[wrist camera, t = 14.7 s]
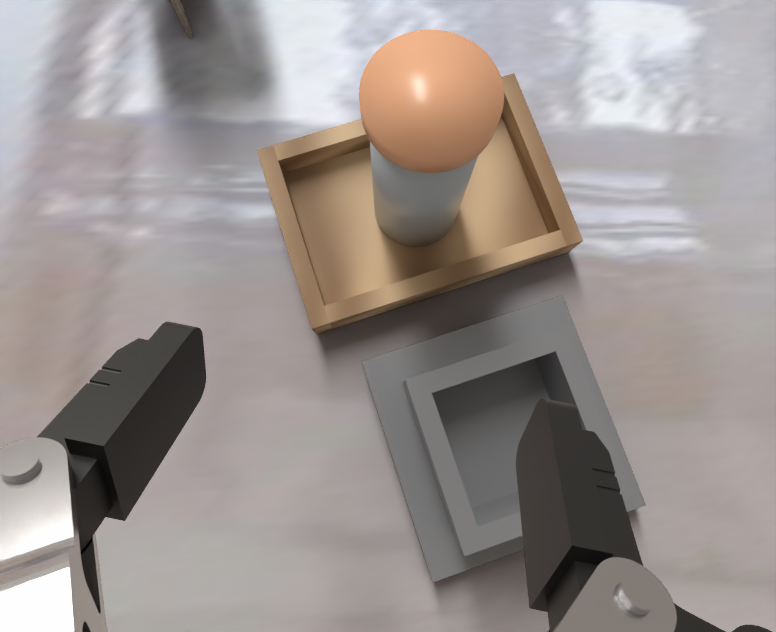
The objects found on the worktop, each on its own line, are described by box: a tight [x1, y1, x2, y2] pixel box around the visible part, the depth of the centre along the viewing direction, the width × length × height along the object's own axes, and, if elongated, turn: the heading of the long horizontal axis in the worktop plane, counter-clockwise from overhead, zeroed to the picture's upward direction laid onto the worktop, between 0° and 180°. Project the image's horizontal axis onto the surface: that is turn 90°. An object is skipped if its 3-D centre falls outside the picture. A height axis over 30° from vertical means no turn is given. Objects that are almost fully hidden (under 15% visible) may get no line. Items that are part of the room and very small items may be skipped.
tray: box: [257, 74, 583, 334], centre depth 30 cm, size 16×11×2 cm
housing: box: [362, 295, 646, 582], centre depth 26 cm, size 12×12×5 cm
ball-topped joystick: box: [359, 30, 504, 247], centre depth 25 cm, size 6×6×11 cm
